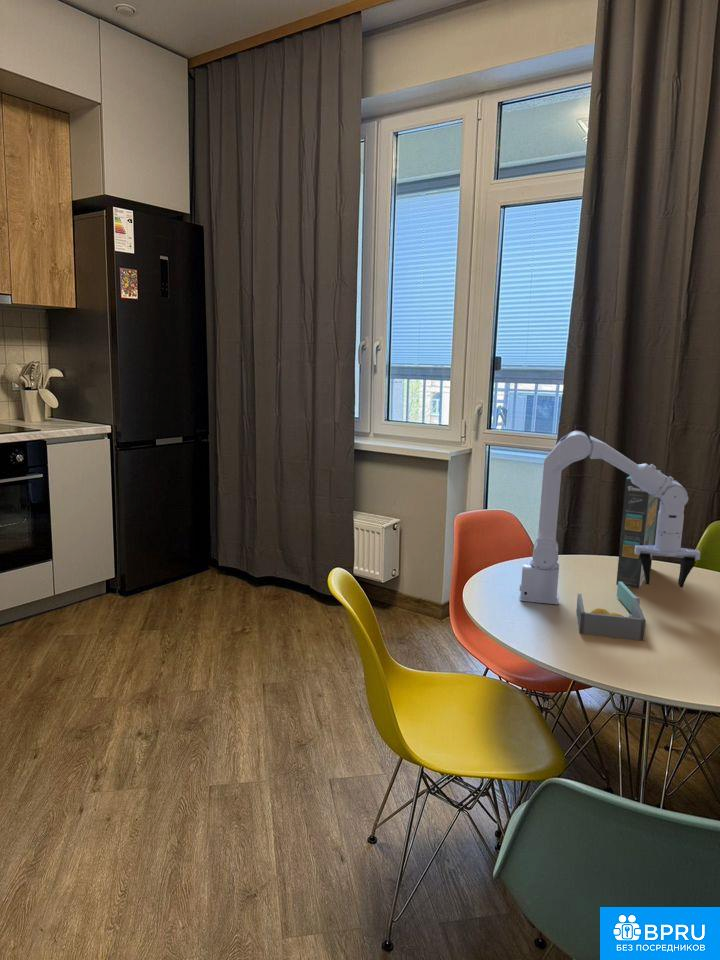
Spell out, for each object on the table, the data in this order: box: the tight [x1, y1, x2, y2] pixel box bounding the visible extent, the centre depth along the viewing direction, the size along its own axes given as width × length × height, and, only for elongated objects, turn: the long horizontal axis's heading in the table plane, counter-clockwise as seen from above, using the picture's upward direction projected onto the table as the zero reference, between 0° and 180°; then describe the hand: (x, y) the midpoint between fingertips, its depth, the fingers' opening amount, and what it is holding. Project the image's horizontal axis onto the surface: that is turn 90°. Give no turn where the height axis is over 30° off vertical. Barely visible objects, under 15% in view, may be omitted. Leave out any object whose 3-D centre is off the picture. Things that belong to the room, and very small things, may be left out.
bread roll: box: [589, 607, 625, 617], centre depth 158 cm, size 8×9×4 cm
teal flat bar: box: [616, 582, 641, 615], centre depth 170 cm, size 14×2×4 cm, turn 175°
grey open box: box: [575, 593, 646, 642], centre depth 159 cm, size 15×16×5 cm
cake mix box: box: [615, 469, 662, 589], centre depth 193 cm, size 22×6×30 cm, turn 149°
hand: (663, 584), depth 167 cm, fingers open, 7 cm apart
